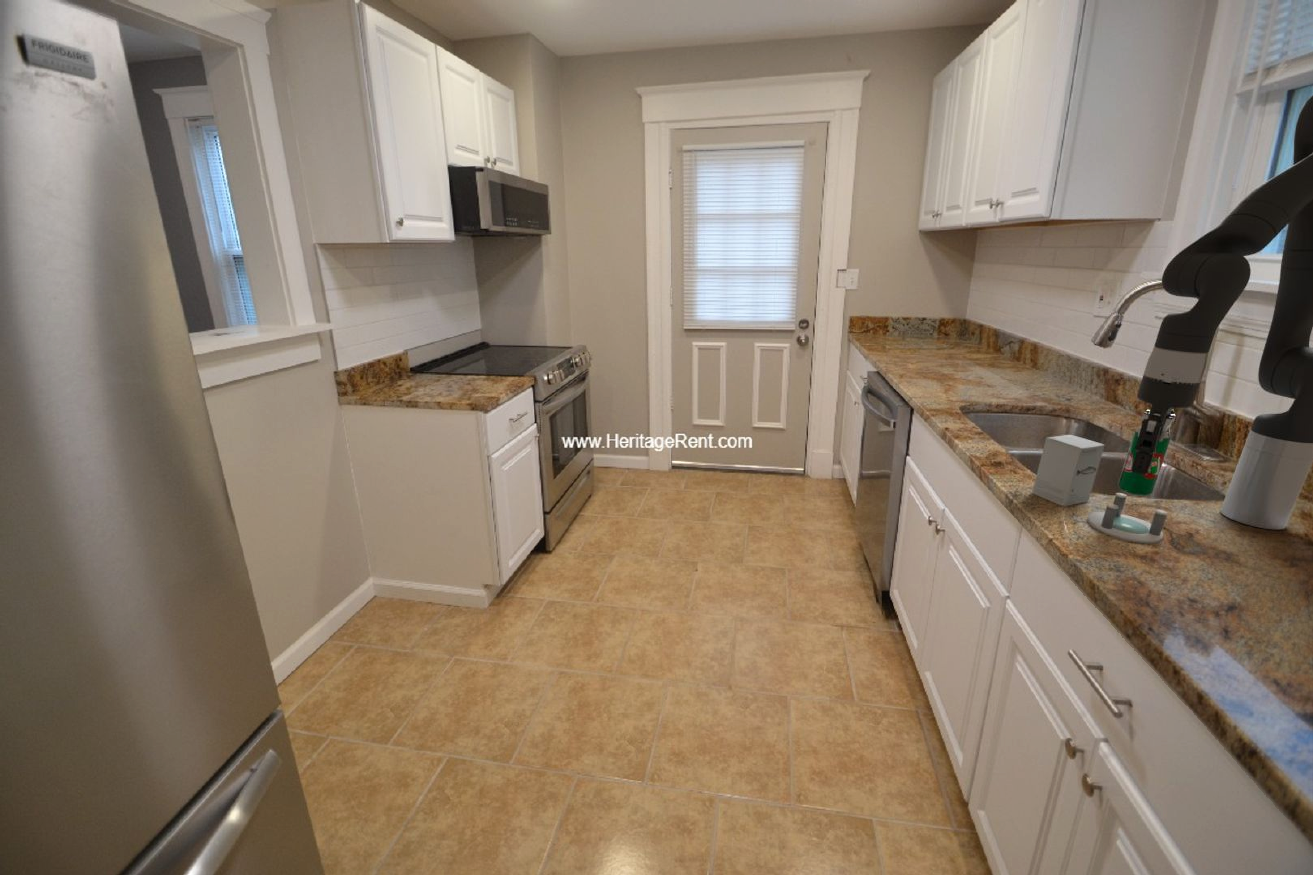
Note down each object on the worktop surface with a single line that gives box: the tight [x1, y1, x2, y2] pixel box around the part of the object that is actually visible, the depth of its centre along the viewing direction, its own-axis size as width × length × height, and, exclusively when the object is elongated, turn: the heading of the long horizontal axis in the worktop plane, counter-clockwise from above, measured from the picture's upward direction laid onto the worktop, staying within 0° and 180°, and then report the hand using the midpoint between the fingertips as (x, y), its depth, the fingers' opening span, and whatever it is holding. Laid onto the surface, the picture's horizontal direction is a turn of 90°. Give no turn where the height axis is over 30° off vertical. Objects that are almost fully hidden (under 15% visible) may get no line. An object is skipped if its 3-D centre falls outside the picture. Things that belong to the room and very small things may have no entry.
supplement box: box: [1031, 434, 1105, 507], centre depth 120 cm, size 7×7×13 cm
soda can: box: [1117, 424, 1172, 497], centre depth 105 cm, size 5×5×12 cm
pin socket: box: [1087, 492, 1169, 544], centre depth 108 cm, size 11×11×5 cm
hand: (1141, 468), depth 105 cm, fingers closed on soda can, 5 cm apart
